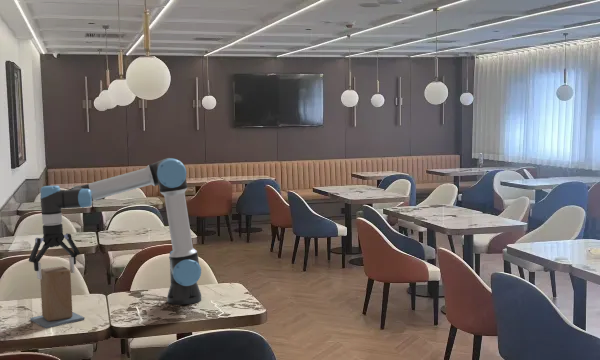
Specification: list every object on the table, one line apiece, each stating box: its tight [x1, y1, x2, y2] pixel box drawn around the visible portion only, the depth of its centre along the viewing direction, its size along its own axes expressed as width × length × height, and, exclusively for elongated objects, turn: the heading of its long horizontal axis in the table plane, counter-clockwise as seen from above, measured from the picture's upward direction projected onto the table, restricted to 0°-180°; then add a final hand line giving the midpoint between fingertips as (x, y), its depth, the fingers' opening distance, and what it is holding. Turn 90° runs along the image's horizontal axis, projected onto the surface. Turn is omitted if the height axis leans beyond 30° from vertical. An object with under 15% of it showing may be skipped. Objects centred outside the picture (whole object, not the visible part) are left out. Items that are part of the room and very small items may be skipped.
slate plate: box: [29, 311, 86, 329], centre depth 271 cm, size 16×16×1 cm
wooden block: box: [39, 266, 73, 321], centre depth 270 cm, size 10×10×20 cm
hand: (56, 275), depth 270 cm, fingers open, 13 cm apart
